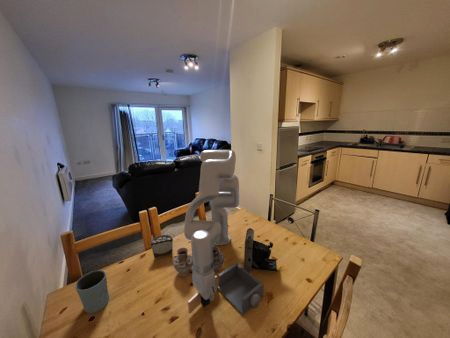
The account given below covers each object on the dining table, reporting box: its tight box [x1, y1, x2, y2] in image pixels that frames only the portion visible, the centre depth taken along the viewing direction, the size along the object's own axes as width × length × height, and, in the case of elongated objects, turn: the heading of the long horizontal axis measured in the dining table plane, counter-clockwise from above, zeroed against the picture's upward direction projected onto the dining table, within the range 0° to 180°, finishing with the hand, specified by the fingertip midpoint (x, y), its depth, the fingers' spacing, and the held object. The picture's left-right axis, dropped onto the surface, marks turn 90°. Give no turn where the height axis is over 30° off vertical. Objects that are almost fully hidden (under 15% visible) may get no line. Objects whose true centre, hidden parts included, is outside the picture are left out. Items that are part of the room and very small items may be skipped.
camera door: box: [187, 275, 219, 314], centre depth 78 cm, size 16×2×5 cm, turn 141°
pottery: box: [172, 245, 226, 277], centre depth 93 cm, size 11×25×12 cm, turn 99°
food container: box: [149, 234, 175, 260], centre depth 106 cm, size 12×6×10 cm, turn 108°
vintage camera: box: [243, 227, 278, 274], centre depth 92 cm, size 10×16×20 cm, turn 78°
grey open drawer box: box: [216, 262, 264, 316], centre depth 80 cm, size 18×12×7 cm
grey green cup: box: [74, 269, 110, 314], centre depth 77 cm, size 10×10×12 cm
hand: (205, 303), depth 74 cm, fingers closed
